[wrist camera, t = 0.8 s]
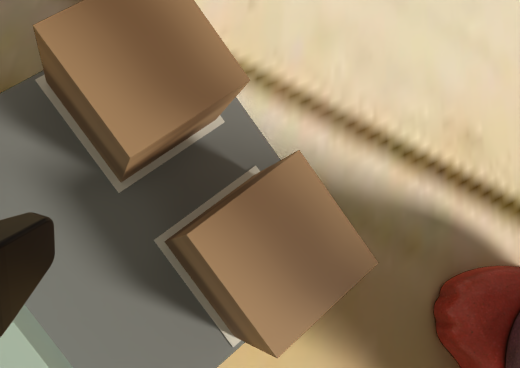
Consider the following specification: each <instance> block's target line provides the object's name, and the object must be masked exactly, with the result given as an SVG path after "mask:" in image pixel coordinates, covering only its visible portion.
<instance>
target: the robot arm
mask: <svg viewBox="0 0 520 368" xmlns="http://www.w3.org/2000/svg"><path fill="white" fill-rule="evenodd" d="M54 256H55V238H54V223H53V221H52V219H51V218H49V217H47V216H44V215H40V214H37V213H33V212H28V213H24V214H21V215H17V216H13V217H10V218H6V219H2V220H0V337H1V336H2V335H3V334H4V332H5V331H6V330H7V328H8V327H9V326H10V324H11V323H12V322H13V320H14V319H15V317H16V316H17V314H18V313H19V311H20V310H21V309H22V307H23V306H24V304H25V303H26V301H27V300H28V298H29V297H30V296H31V294H32V293H33V291H34V290H35V288H36V287H37V285H38V284H39V283H40V281H41V280H42V278H43V277H44V275H45V274H46V272H47V271H48V269H49V268H50V266H51V265H52V263H53V260H54Z"/></svg>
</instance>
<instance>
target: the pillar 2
mask: <svg viewBox="0 0 520 368" xmlns="http://www.w3.org/2000/svg"><path fill="white" fill-rule="evenodd" d="M164 242H165V243H166V245H167V246H168V247H169V249H170V250H171V251H172V253H173V254H174V256H175V257H176V258H177V260H178V261H179V262H180V264H181V265H182V266H183V268H184V269H185V270H186V272H187V273H188V274H189V276H190V277H191V279H192V280H193V281H194V283H195V284H196V285H197V287H198V288H199V289H200V291H201V292H202V293H203V295H204V296H205V298H206V299H207V300H208V302H209V303H210V304H211V306H212V307H213V308H214V310H215V311H216V312H217V314H218V315H219V316H220V318H221V319H222V321H223V322H224V323H225V325H226V326H227V327H228V329H229V330H230V331H231V333H232V334H233V335H234V337H236V338H238V339H240V340H242V341H244V342H246V343H248V344H250V345H252V346H254V347H256V348H258V349H260V350H262V351H264V352H266V353H268V354H270V355H272V356H274V357H276V358H278V357H279V356H280V355H281V354H282V353H283V352H285V351H286V350H287V349H288V348H289V347H290V346H291V345H292V344H293V343H294V342H295V341H296V340H297V339H298V338H299V337H300V336H302V335H303V334H304V333H305V332H306V331H307V330H308V329H309V328H310V327H311V326H312V325H313V324H314V323H315V322H316V321H317V320H319V319H320V318H321V317H322V316H323V315H324V314H325V313H326V312H327V311H328V310H329V309H330V308H331V307H332V306H333V305H334V304H336V303H337V302H338V301H339V300H340V299H341V298H342V297H343V296H344V295H345V294H346V293H347V292H348V291H349V290H350V289H351V288H353V287H354V286H355V285H356V284H357V283H358V282H359V281H360V280H361V279H362V278H363V277H364V276H365V275H366V274H367V273H368V272H370V271H371V270H372V269H373V268H374V267H375V266H376V265H377V264H378V261H377V260H376V258H375V257H374V256H373V254H372V253H371V251H370V250H369V248H368V247H367V246H366V244H365V243H364V241H363V240H362V238H361V237H360V236H359V234H358V233H357V231H356V230H355V229H354V227H353V226H352V224H351V223H350V221H349V220H348V219H347V217H346V216H345V214H344V213H343V211H342V210H341V209H340V207H339V206H338V204H337V203H336V202H335V200H334V199H333V197H332V196H331V194H330V193H329V192H328V190H327V189H326V187H325V186H324V184H323V183H322V182H321V180H320V179H319V177H318V176H317V175H316V173H315V172H314V170H313V169H312V167H311V166H310V165H309V163H308V162H307V160H306V159H305V157H304V156H303V155H302V153H301V152H300V150H299V151H297V152H295V153H293V154H291V155H289V156H288V157H286V158H284V159H282V160H280V161H278V162H277V163H275V164H273V165H271V166H269V167H267V168H266V169H264V170H262V171H260V172H258V173H256V174H255V175H253V176H252V177H251V178H249V179H248V180H247V181H245V182H244V183H243V184H241V185H240V186H239V187H237V188H236V189H234V190H233V191H232V192H230V193H229V194H228V195H226V196H225V197H224V198H222V199H221V200H220V201H218V202H217V203H216V204H214V205H213V206H212V207H210V208H209V209H207V210H206V211H205V212H203V213H202V214H201V215H199V216H198V217H197V218H195V219H194V220H193V221H191V222H190V223H189V224H187V225H186V226H185V227H183V228H182V229H181V230H179V231H178V232H176V233H175V234H174V235H172V236H171V237H170V238H168V239H167V240H166V241H164Z"/></svg>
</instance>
